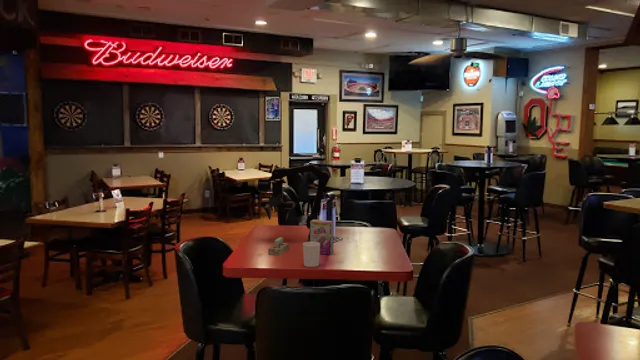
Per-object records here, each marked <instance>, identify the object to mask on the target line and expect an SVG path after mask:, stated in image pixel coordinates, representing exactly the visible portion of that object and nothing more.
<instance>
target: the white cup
mask: <svg viewBox="0 0 640 360" xmlns="http://www.w3.org/2000/svg"><path fill="white" fill-rule="evenodd" d="M302 253H303V255H302V257H303V265H304V267H307V268H316V267H318V266H319V265H320V255H321V254H320V243H318V242H309V241H305V242H302Z"/></svg>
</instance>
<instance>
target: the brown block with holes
mask: <svg viewBox="0 0 640 360" xmlns="http://www.w3.org/2000/svg"><path fill="white" fill-rule="evenodd" d="M289 249H290V243H288V242H283V246H282V245H279V248H275V244H274V245H272V246H270V247H269V248H268V249H267V250H268V256H282V255H283V254H284V253H285V252H287V251H288V250H289Z"/></svg>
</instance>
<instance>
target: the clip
mask: <svg viewBox="0 0 640 360" xmlns="http://www.w3.org/2000/svg"><path fill="white" fill-rule="evenodd" d="M283 243H284V237H282V236H281V237H278V238H276V239H275V240H274V245H275V248H279V245H282V246H283Z"/></svg>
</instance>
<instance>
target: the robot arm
mask: <svg viewBox="0 0 640 360" xmlns="http://www.w3.org/2000/svg"><path fill="white" fill-rule="evenodd" d="M304 173H311V174H313V175H314V176H315V177H316V178H317V179H318V180H317V181H318V182H317V190H316V193H315V198H314V201H313V204H312V209H311V212H310V213H307V215H306V219H305V223H306V228H307V229H308V230H310V221H311V220H319V216H318V215H319V210H320V207H321V203H322V200H323V199H322V198H323V195H324V192H325V188H326V186H327V184H328V182H329V180H330V174H329V172H327V171H325V170H321V169H320V168H319V167H317V166H316V165H315V164H313V163H308V164H305V165H299V166H295V167H287V168H286V167H276V168H274V169H273V170H272V171H271V176H270V177H269V178H266V179H265V178H259V179H258V183H257V184H258V185H257V191H258V192H270V191H271V195H270V198H269V199H268V200H265V199H264V200H262V201H260V202H259V207H260V208H261V209H264V211H265V212H266V215H267V217H268V220H271V216H272V212H271V210H272V209H271V208H273V207H274V208H278V207H285V208H284V212H285V213H284V221H287V219H288V217H289V214H290V213H291V210H292V209H294V208H295V207H296V202H295V201H290V200H289V201H286V202H284V198H283V197H284V191H283V190H284V189H283V187H284V184H286V183H287V181H286V180H285V179H284V178H286V177H288V176H293V175H298V174H299V175H300V174H304ZM307 240H308V241H307V242H310V231H309V232H308V237H307Z"/></svg>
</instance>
